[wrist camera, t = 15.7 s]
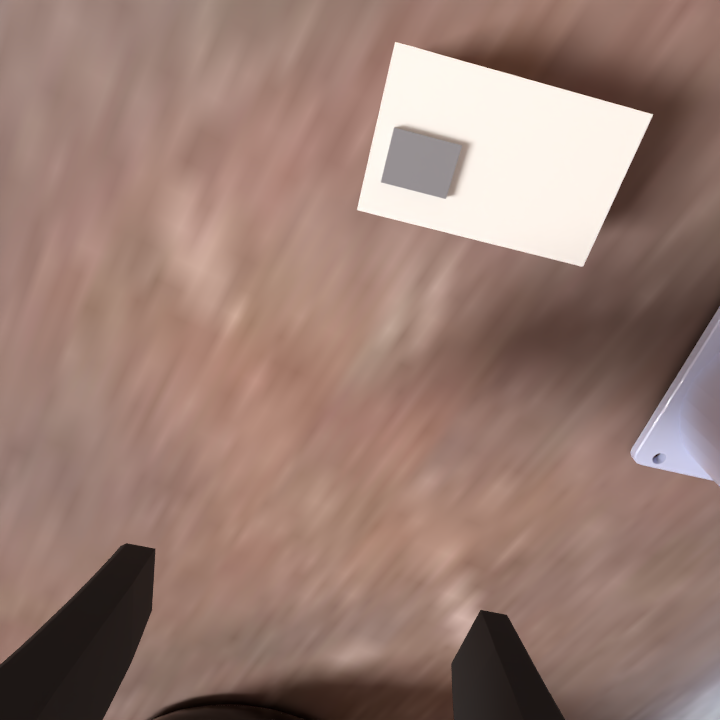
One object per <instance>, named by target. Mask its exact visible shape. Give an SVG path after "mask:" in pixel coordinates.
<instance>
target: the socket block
mask: <svg viewBox="0 0 720 720" xmlns="http://www.w3.org/2000/svg"><path fill="white" fill-rule="evenodd" d="M652 116H653V114H650V113H646V112H642V111H639V110H635V109H632V108H628V107H625V106H621V105H618V104H614V103H611V102H607V101H603V100H600V99H596V98H593V97H589V96H586V95H582V94H579V93H575V92H571V91H568V90H564V89H561V88H557V87H554V86H550V85H547V84H543V83H539V82H536V81H532V80H529V79H525V78H522V77H518V76H515V75H511V74H507V73H504V72H500V71H497V70H493V69H490V68H486V67H483V66H479V65H476V64H472V63H468V62H465V61H461V60H458V59H454V58H451V57H447V56H444V55H440V54H436V53H433V52H429V51H426V50H422V49H419V48H415V47H412V46H408V45H404V44H401V43H397V42H395V46H394V50H393V54H392V58H391V62H390V66H389V70H388V75H387V79H386V84H385V88H384V92H383V97H382V101H381V106H380V110H379V114H378V119H377V123H376V128H375V132H374V136H373V141H372V145H371V150H370V154H369V158H368V163H367V167H366V172H365V176H364V180H363V185H362V189H361V194H360V199H359V204H358V208H357V210H359V211H363V212H367V213H371V214H375V215H379V216H383V217H387V218H391V219H395V220H399V221H403V222H407V223H411V224H415V225H419V226H423V227H427V228H431V229H435V230H439V231H443V232H446V233H450V234H454V235H458V236H462V237H466V238H470V239H474V240H478V241H482V242H486V243H490V244H494V245H498V246H502V247H506V248H510V249H514V250H518V251H522V252H526V253H530V254H534V255H538V256H542V257H546V258H550V259H554V260H558V261H562V262H566V263H570V264H574V265H578V266H582V267H583V266H584V263H585V261H586V259H587V257H588V255H589V253H590V250H591V248H592V246H593V244H594V242H595V240H596V237H597V235H598V233H599V231H600V229H601V227H602V224H603V222H604V220H605V218H606V216H607V214H608V211H609V209H610V207H611V205H612V203H613V201H614V198H615V196H616V194H617V192H618V190H619V188H620V185H621V183H622V181H623V179H624V177H625V175H626V172H627V170H628V168H629V166H630V164H631V162H632V159H633V157H634V155H635V153H636V151H637V149H638V146H639V144H640V142H641V140H642V138H643V136H644V133H645V131H646V129H647V127H648V125H649V123H650V120H651V118H652Z"/></svg>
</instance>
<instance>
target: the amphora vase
mask: <svg viewBox="0 0 720 720" xmlns="http://www.w3.org/2000/svg"><path fill="white" fill-rule="evenodd" d="M152 720H304V719H302V718H299V717H296V716H292V715H289V714H286V713H283V712H280V711H277V710H272V709H266V708H260V707H254V706H248V705H208V706H201V707H194V708H187V709H181V710H177V711H174V712H171V713H168V714H166V715H163V716H160V717H157V718H154V719H152Z"/></svg>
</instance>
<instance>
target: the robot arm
mask: <svg viewBox="0 0 720 720" xmlns="http://www.w3.org/2000/svg"><path fill="white" fill-rule="evenodd" d="M659 453H660V454H659ZM656 454H659V455H658V456H657V457H654V456H655V455H656ZM631 456H632V458H633V459H634V460H635V461H636V463H638V464H640V465H644V466H648V467H653V468H658V469H662V470H667V471H671V472H676V473H680V474H685V475H689V476H694V477H699V478H703V479H708V480H712V481H715V482H716V483H717V484H718V486H719V487H720V307H719V308H718V310H717V312H716V313H715V315H714V316H713V318H712V320H711V321H710V323H709V325H708V326H707V328H706V329H705V331H704V333H703V334H702V336H701V337H700V339H699V341H698V342H697V344H696V346H695V347H694V349H693V350H692V352H691V354H690V355H689V357H688V358H687V360H686V362H685V363H684V365H683V366H682V368H681V370H680V371H679V373H678V375H677V376H676V378H675V379H674V381H673V383H672V384H671V386H670V387H669V389H668V391H667V392H666V394H665V396H664V397H663V399H662V400H661V402H660V404H659V405H658V407H657V408H656V410H655V412H654V413H653V415H652V417H651V418H650V420H649V421H648V423H647V425H646V426H645V428H644V429H643V431H642V433H641V434H640V436H639V438H638V439H637V441H636V442H635V444H634V446H633V447H632V449H631ZM653 457H654V458H653ZM154 564H155V549H154V548H148V547H143V546H138V545H132V544H127V543H126V544H124V545H122V546H121V547H120V548H119V549H118V550H117V551H116V552H115V553H114V554H113V555H112V557H111V558H110V559H109V560H108V561H107V562H106V563H105V564H104V565H103V566H102V567H101V568H100V569H99V571H98V572H97V573H96V574H95V575H94V576H93V577H92V578H91V579H90V580H89V581H88V582H87V583H86V584H85V585H84V586H83V587H82V588H81V589H80V590H79V591H78V592H77V593H76V594H75V595H74V596H73V597H72V598H71V599H70V600H69V601H68V602H67V603H66V604H65V605H64V606H63V607H62V608H61V609H60V610H59V611H58V612H57V613H56V614H55V615H54V616H53V617H51V618H50V619H49V620H48V621H47V622H46V623H45V624H44V625H43V626H42V627H41V628H40V629H39V630H38V631H37V632H36V633H35V634H34V635H33V636H32V637H31V638H29V639H28V640H27V641H26V642H25V643H24V644H23V645H22V646H21V647H20V648H19V649H17V650H16V651H15V652H14V653H13V654H12V655H11V656H9V657H8V658H7V659H6V660H5V661H4V662H3V663H2V664H0V720H103V718H104V716H105V714H106V712H107V710H108V708H109V706H110V704H111V702H112V700H113V698H114V696H115V694H116V692H117V690H118V688H119V686H120V684H121V682H122V680H123V678H124V676H125V674H126V672H127V670H128V668H129V666H130V664H131V662H132V659H133V657H134V654H135V652H136V649H137V647H138V644H139V642H140V639H141V637H142V634H143V632H144V629H145V627H146V624H147V621H148V619H149V616H150V614H151V611H152V598H153V581H154ZM451 667H452V694H453V711H454V720H565V719H564V717H563V715H562V714H561V712H560V710H559V708H558V707H557V705H556V703H555V701H554V700H553V698H552V696H551V694H550V693H549V691H548V689H547V687H546V685H545V684H544V682H543V680H542V678H541V676H540V675H539V673H538V671H537V669H536V667H535V666H534V664H533V662H532V660H531V658H530V656H529V655H528V653H527V651H526V649H525V647H524V645H523V643H522V642H521V640H520V638H519V636H518V634H517V632H516V631H515V629H514V627H513V625H512V623H511V621H510V620H509V618H508V616H507V615H504V614H499V613H494V612H488V611H483V610H480V612H479V614H478V616H477V618H476V619H475V621H474V623H473V625H472V627H471V629H470V631H469V632H468V634H467V636H466V638H465V640H464V642H463V643H462V645H461V647H460V649H459V651H458V653H457V654H456V656H455V658H454V660H453V662H452V664H451Z"/></svg>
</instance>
